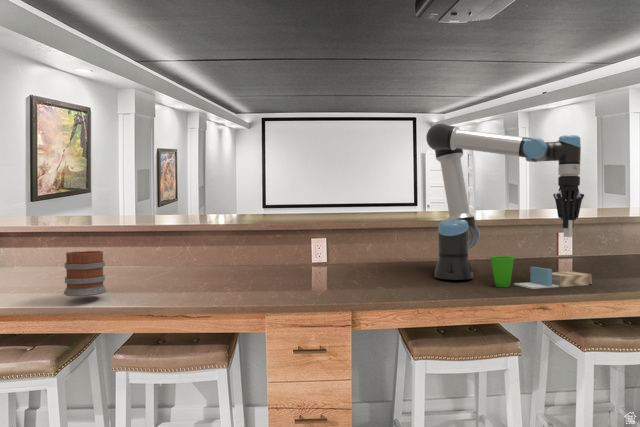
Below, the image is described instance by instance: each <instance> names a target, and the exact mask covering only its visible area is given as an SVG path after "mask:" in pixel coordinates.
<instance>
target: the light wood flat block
mask: <svg viewBox="0 0 640 427" xmlns="http://www.w3.org/2000/svg"><path fill="white" fill-rule="evenodd" d="M552 284H554V285H559V287H558V288H565V287H581V286H590V285H589V284H593V276H592V274H591V273H586V272H585V273H584V272H578V271H573V270H569V271H555V272H553V271H552Z"/></svg>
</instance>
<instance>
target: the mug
mask: <svg viewBox="0 0 640 427" xmlns="http://www.w3.org/2000/svg"><path fill="white" fill-rule="evenodd" d="M65 253H66V255H65V258H66V259H65V261H66V262H65V263H64V269H65V270H66V271H65V272H66V276H65V277H64V283H65V284H66V287H65V289H64V292H63V295H64V296H67V297H89V296H90V297H91V296H97V295H102V294H105V293H106V291H107V289H106V287H105V285H104V282H105V281H106V275H105V274H104V268H105V266H106V265H105V264H106V263H105V262H106V261H105V260H104V251H103V250H102V251H101V250H89V251H88V250H87V251H85V250H84V251H70V252H69V251H67V252H65Z"/></svg>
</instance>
